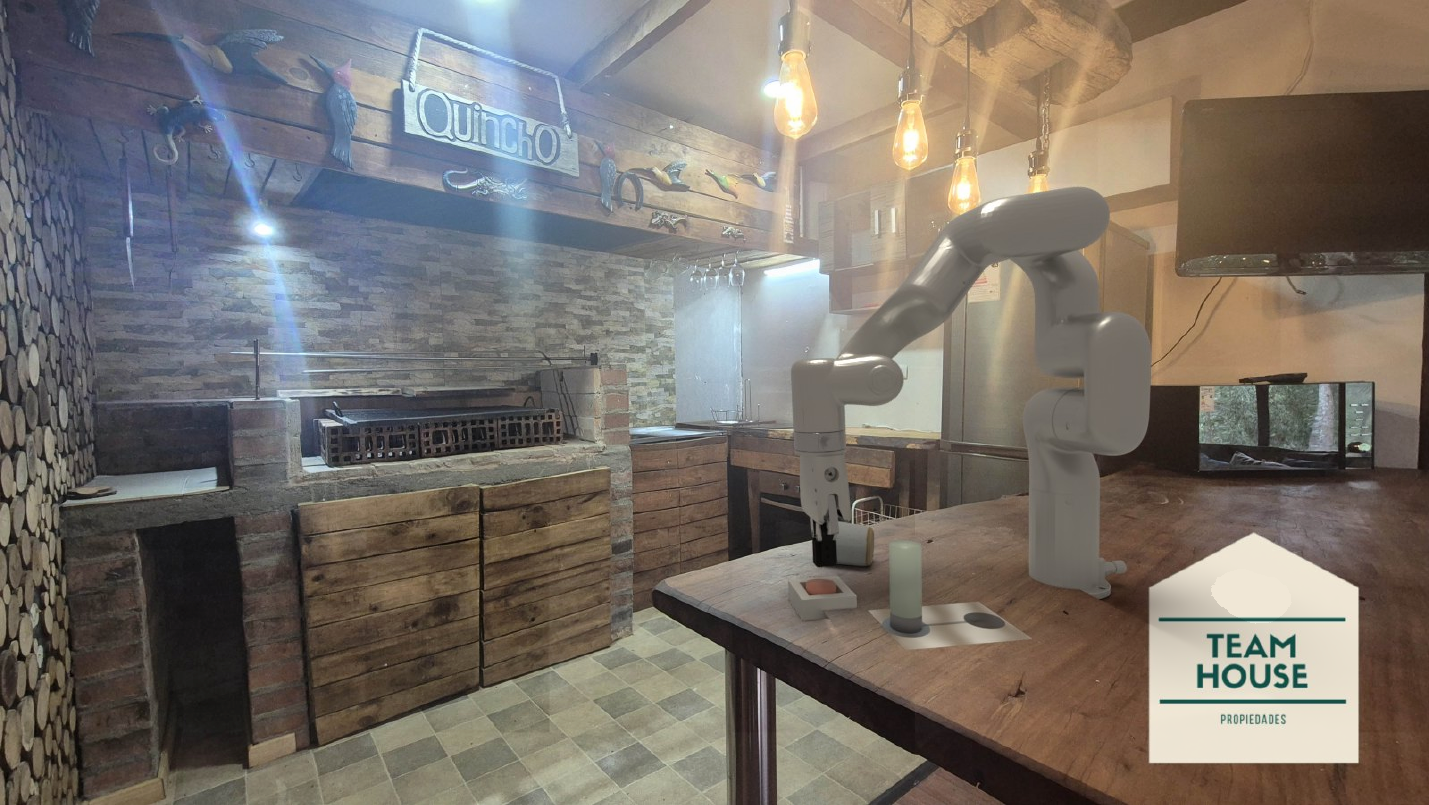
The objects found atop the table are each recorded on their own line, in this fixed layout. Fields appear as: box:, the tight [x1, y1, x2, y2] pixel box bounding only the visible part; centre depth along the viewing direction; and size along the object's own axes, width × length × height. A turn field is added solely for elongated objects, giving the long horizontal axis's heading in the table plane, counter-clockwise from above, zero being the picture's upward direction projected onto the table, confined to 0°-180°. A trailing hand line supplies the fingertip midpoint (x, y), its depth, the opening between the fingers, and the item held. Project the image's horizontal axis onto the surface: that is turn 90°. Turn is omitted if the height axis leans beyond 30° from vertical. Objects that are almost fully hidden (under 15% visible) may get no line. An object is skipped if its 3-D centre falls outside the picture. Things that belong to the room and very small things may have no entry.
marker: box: [888, 539, 923, 634], centre depth 74 cm, size 4×4×11 cm
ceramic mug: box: [836, 520, 875, 567], centre depth 105 cm, size 11×8×8 cm
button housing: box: [787, 575, 858, 622], centre depth 85 cm, size 8×8×3 cm
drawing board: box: [868, 601, 1033, 651], centre depth 75 cm, size 18×13×1 cm
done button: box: [806, 579, 836, 595], centre depth 85 cm, size 4×4×2 cm
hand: (824, 564), depth 84 cm, fingers closed
